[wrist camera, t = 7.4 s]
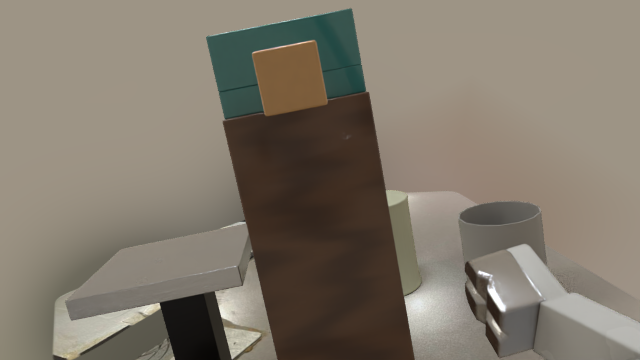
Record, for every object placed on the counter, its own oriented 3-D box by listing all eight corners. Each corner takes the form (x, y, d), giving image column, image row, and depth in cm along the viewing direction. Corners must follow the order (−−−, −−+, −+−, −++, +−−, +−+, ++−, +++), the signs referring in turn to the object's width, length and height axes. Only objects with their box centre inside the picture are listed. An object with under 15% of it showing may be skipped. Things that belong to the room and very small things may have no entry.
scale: (127, 498, 36) (64, 301, 33) (165, 404, 47) (120, 248, 44) (285, 465, 36) (238, 265, 33) (287, 378, 47) (251, 222, 44)
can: (424, 267, 66) (410, 183, 64) (418, 299, 58) (402, 202, 55) (359, 272, 69) (344, 191, 67) (344, 302, 60) (326, 211, 58)
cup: (461, 312, 53) (448, 225, 51) (479, 280, 59) (468, 202, 57) (545, 320, 48) (535, 225, 46) (554, 284, 55) (546, 199, 53)
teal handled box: (170, 142, 15) (132, -9, 14) (240, 112, 35) (225, 48, 34) (423, 92, 15) (401, -60, 14) (349, 91, 35) (338, 26, 34)
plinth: (300, 528, 31) (203, 124, 26) (298, 438, 38) (224, 116, 34) (453, 495, 31) (387, 87, 26) (421, 412, 39) (365, 88, 34)
